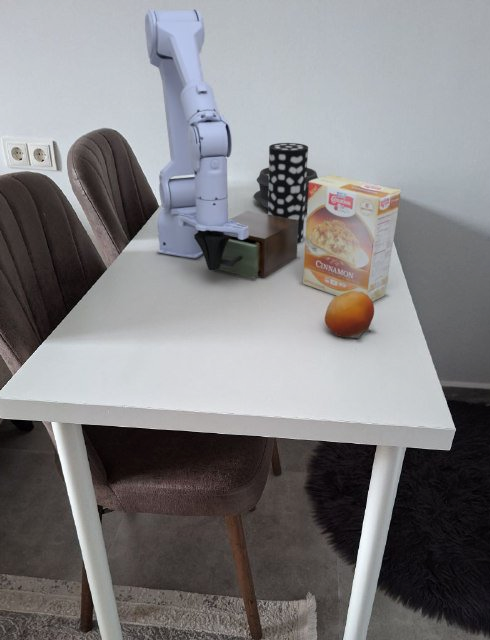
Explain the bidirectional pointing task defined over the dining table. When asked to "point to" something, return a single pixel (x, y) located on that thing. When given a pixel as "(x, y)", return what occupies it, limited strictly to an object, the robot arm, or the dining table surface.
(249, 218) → the cabinet
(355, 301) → the fruit
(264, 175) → the casserole
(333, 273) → the coffeecake box
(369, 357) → the dining table surface
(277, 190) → the spotted tube
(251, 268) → the drawer
